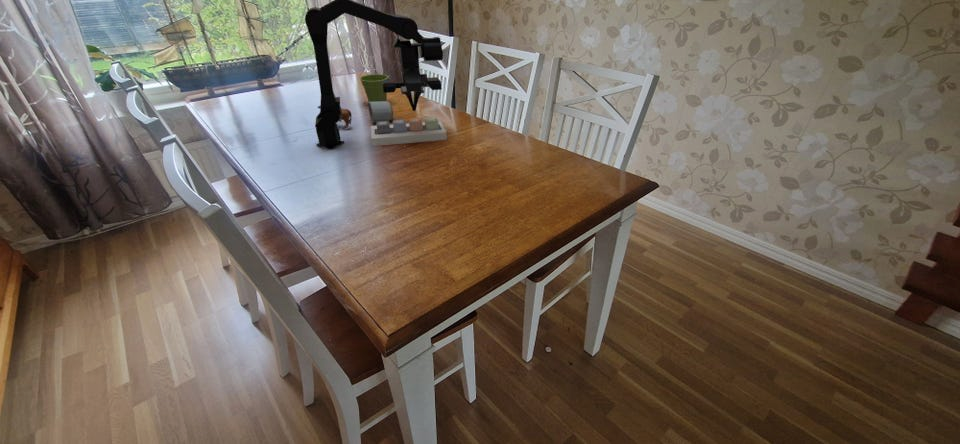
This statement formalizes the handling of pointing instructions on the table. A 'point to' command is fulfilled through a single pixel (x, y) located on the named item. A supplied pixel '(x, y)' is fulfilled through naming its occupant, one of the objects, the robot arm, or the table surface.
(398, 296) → the table surface
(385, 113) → the ceramic mug
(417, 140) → the keypad
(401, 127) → the key slate
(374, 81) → the plant pot
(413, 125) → the key terracotta
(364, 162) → the table surface
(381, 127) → the key charcoal
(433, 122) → the key sage
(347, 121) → the bull figurine
